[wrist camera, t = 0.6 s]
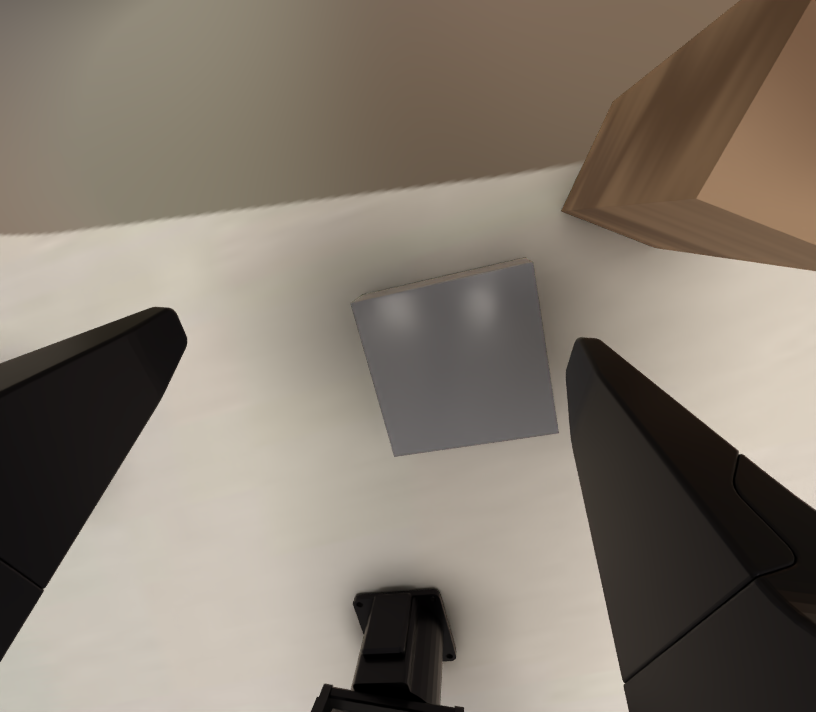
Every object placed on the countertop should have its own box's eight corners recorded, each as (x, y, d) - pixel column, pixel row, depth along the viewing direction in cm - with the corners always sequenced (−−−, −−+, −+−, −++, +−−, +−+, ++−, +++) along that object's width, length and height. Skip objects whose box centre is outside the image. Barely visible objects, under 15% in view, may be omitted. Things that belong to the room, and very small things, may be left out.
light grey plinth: (549, 411, 24) (558, 433, 21) (400, 434, 25) (394, 456, 23) (525, 257, 21) (533, 262, 19) (362, 294, 23) (350, 303, 20)
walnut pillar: (654, 247, 20) (921, 286, 8) (561, 211, 20) (696, 198, 8) (715, 141, 18) (1155, 3, 7) (612, 101, 18) (871, -106, 7)
